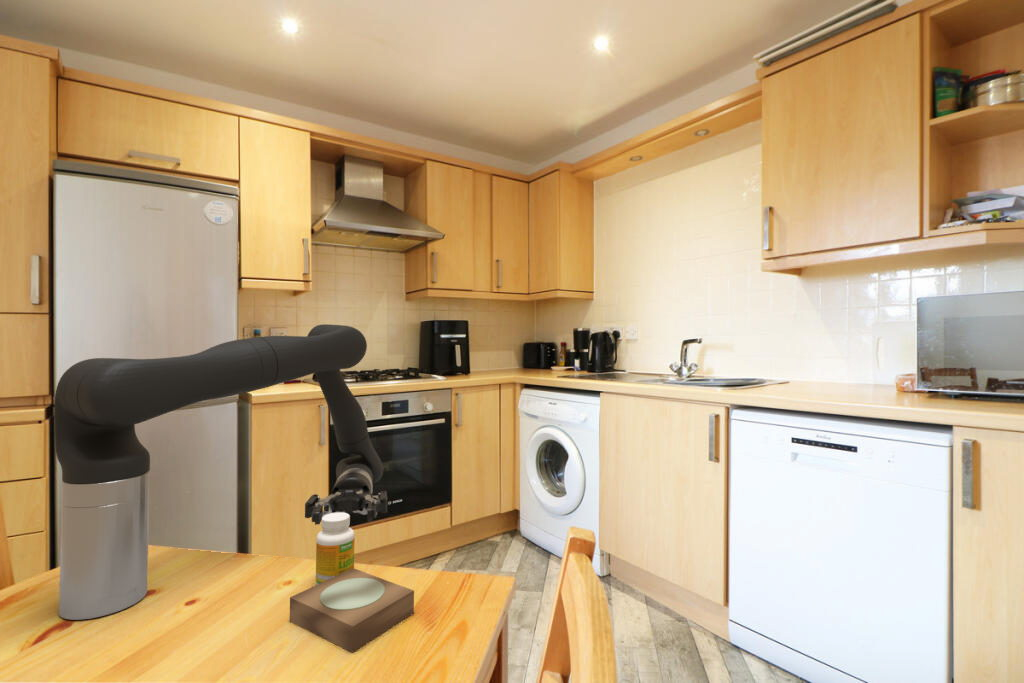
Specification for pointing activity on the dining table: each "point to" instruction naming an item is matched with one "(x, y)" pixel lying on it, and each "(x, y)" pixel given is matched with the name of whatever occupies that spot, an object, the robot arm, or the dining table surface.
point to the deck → (351, 608)
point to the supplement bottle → (334, 547)
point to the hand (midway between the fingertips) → (343, 517)
